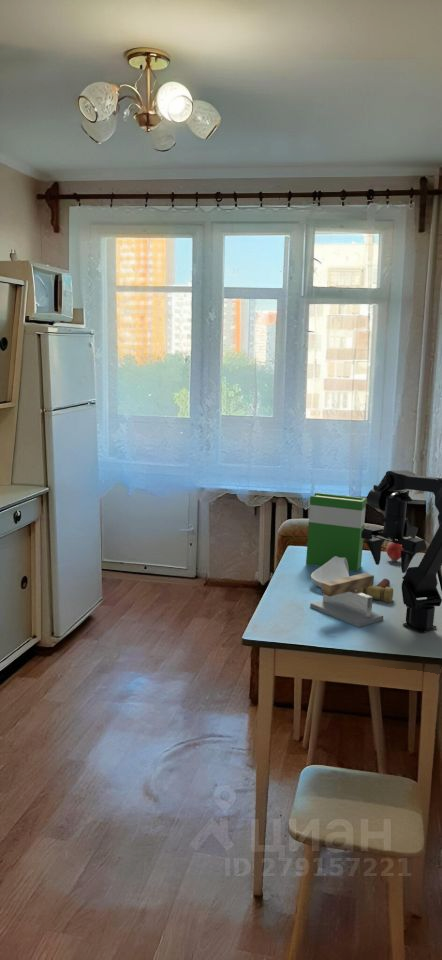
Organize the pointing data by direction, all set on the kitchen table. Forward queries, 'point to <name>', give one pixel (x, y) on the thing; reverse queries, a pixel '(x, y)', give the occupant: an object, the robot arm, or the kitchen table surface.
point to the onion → (394, 551)
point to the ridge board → (345, 614)
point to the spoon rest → (331, 571)
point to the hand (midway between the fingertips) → (390, 568)
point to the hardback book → (335, 529)
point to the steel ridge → (352, 603)
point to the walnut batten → (347, 584)
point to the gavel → (379, 591)
